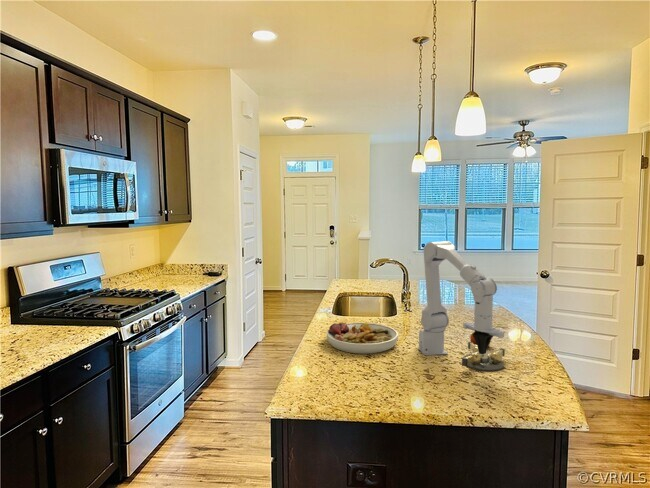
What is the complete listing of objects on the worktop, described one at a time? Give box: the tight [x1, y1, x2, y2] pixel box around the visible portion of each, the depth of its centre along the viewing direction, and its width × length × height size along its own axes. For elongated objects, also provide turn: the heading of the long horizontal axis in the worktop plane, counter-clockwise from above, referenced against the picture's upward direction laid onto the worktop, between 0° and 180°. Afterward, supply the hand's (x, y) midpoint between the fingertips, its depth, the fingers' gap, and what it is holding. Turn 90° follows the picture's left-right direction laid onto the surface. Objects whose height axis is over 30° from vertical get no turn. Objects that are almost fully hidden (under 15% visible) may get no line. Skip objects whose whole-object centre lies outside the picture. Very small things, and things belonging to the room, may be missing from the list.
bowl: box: [326, 322, 399, 355], centre depth 175 cm, size 30×30×8 cm
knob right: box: [490, 347, 506, 364], centre depth 151 cm, size 9×4×4 cm, turn 139°
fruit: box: [469, 330, 492, 348], centre depth 170 cm, size 8×8×8 cm
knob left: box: [461, 352, 481, 367], centre depth 147 cm, size 9×4×4 cm, turn 125°
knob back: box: [467, 341, 479, 352], centre depth 158 cm, size 9×4×4 cm, turn 5°
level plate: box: [462, 351, 505, 372], centre depth 151 cm, size 14×14×4 cm
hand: (482, 353), depth 142 cm, fingers closed
